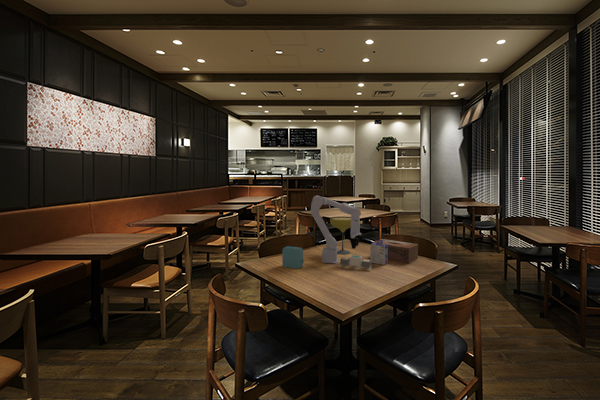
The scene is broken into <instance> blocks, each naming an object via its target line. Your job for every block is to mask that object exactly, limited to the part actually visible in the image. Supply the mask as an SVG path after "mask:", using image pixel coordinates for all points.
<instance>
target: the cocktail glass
mask: <svg viewBox="0 0 600 400" xmlns="http://www.w3.org/2000/svg"><path fill="white" fill-rule="evenodd" d="M329 219H330V220H329V222H330V224H331V226H333V227H334V228H336V229H338V230H339V231H340V232H341V236H342V237H341V242H342V243H341V250H340V249H339V250H337V255H349V254H351V251H349V250H346V249H344V233H345V232H346V230H348V229H351V216H332V217H330V218H329Z"/></svg>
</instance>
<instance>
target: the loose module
mask: <svg viewBox="0 0 600 400" xmlns="http://www.w3.org/2000/svg"><path fill="white" fill-rule="evenodd" d="M349 258H350V265H355V266H360V265H361V261H362V256H361V255H354V254H353V255H350V256H349Z"/></svg>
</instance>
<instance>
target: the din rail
mask: <svg viewBox="0 0 600 400" xmlns="http://www.w3.org/2000/svg"><path fill="white" fill-rule="evenodd" d="M339 265H343V264H340V263H339ZM339 265H338V266H339ZM372 265H373V264H371V266H370V267H362V266H361V265H360V266H355V265H350V263H349V265H344V266H353V267H362V268H371V267H372ZM372 268H373V267H372Z"/></svg>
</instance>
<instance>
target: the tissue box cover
mask: <svg viewBox="0 0 600 400" xmlns="http://www.w3.org/2000/svg"><path fill="white" fill-rule="evenodd" d="M380 240H383V243H382V244H388V261H389V260H390V261H395V262H398V263H404V264H411V263H412V262H414V261H416V260H419V244H418V243H412V242H406V241H399V240H392V239H385V238H381V239H380ZM378 242H381V241H378ZM372 243H377V240H375V241H372V242H371V244H372Z"/></svg>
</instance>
